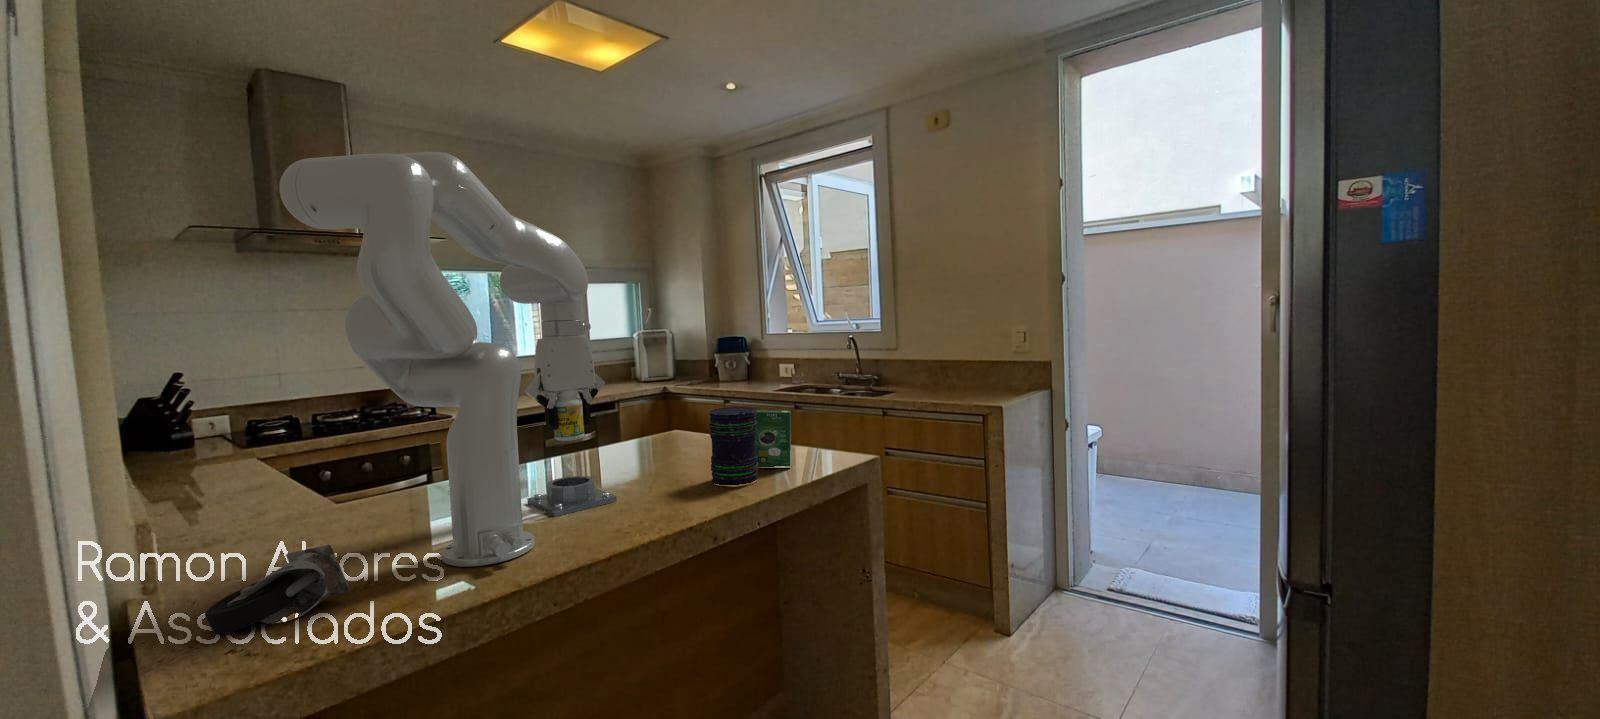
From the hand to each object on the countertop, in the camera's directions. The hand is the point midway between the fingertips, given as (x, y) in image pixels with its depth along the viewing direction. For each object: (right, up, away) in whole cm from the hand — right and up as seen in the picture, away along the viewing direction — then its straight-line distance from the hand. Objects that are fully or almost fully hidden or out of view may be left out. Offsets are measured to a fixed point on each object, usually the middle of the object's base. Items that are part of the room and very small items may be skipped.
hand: (568, 425), depth 120 cm
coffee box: (+38, -12, +24) cm, 46 cm away
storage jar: (+30, -13, +13) cm, 35 cm away
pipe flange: (0, -15, +1) cm, 15 cm away
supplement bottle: (0, -3, 0) cm, 3 cm away
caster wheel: (-20, -19, -44) cm, 51 cm away
